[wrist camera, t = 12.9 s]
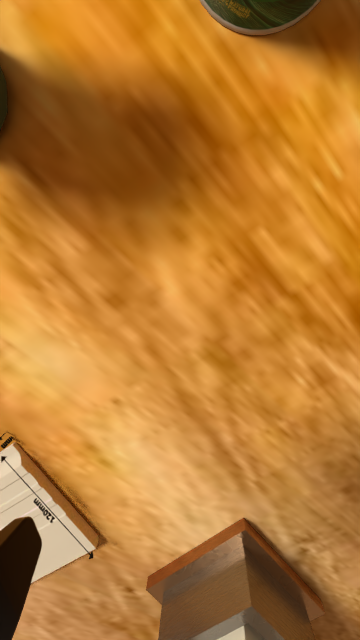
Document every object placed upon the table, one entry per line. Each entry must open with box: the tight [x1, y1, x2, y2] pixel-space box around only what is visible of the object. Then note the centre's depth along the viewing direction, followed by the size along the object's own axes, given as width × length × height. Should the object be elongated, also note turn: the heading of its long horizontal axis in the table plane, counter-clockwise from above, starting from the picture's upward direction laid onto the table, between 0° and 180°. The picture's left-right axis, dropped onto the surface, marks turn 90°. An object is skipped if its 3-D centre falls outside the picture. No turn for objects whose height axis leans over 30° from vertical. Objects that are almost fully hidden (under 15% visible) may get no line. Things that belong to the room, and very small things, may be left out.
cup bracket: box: [146, 518, 325, 640], centre depth 22 cm, size 10×10×6 cm
